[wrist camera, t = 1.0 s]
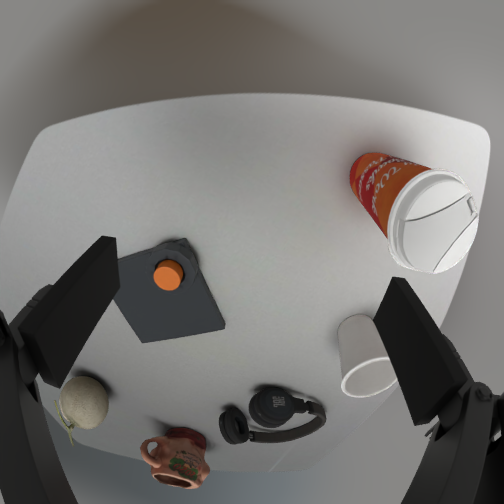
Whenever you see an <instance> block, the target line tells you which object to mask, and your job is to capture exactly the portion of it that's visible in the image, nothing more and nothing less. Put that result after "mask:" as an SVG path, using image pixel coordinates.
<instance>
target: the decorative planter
mask: <svg viewBox="0 0 504 504" xmlns="http://www.w3.org/2000/svg"><path fill="white" fill-rule="evenodd" d="M150 442H156V443H157V444H158V445H157V447H156V448H154V449H153V450H152V451H151V453H150V454H149V453H148V449H147V446H148V444H149V443H150ZM140 450H141V454H142V457H143V458H144V460H145V461H146V462H147V463H148V464H150V466H151V474H152V476H153V477H154V478H155V479H156V480H158V481H159V482H160V483H163V484H167V485H171V486H178V487H182V488H188V489H193V488H198V487H200V486H201V484H202V483H203V480H204V479H205V478H206V476H207V475H208V474H209V472H210V467H209V466H208V464H207V463H206V462H205V460H204V455H205V451H206V441H205V438H204V437H203V436H202V435H200V434H199V433H197V432H195V431H193V430H191V429H187V428H174V429H170V430H168V431H167V432H166V433H165V436H162V437H155V438H151V439H148V440H145V441H144V442H143V443H142V445H141V447H140Z"/></svg>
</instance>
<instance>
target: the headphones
mask: <svg viewBox="0 0 504 504" xmlns="http://www.w3.org/2000/svg"><path fill="white" fill-rule="evenodd" d="M306 410H307V411H309V412H308V413H309V414H313V415H316V416H318V417H316V418H315V419H314V420H313V421H311V422H309V423H308V424H305V425H303V426H301V427H298V428H295V429H292V430H289V431H284V432H276V433H266V432H256V431H249V428H248V424H247V421H246V419H245V417H244V415H243V414H242V412H241V411H240V410H238V409H230V410H228V411H226V412H223V413H222V414H221V415H220V418H219V427H220V431H221V434H222V436H223V437H224V439H225V440H226V441H227V442H228V443H230V444H240V443H244V442H246V441H247V440H248V439H250V441H251V442H258V443H280V442H287V441H292V440H295V439H298V438H301V437H304V436H306V435H309V434H311V433H313V432H315V431H316V430H318V429H319V428H321V427H322V426H323V425H324V424H325V422H326V415H325V411H324V409H323V408H322V406H320V405H319V404H317V403H315V402H311V401H307V402H306V403H304V400H303V399H299V398H295V397H292V396H291V395H290V394H288V393H287V392H286V391H284V390H282V389H280V388H276V387H268V388H265V389H263V390H261V391H260V392H259V393H257V394H255V395H254V396H253V397H252V398H251V400H250V403H249V413H250V415H251V417H252V419H253V420H254V421H255V422H256V423H258V424H259V425H261V426H263V427H267V428H276V427H279V426H281V425H283V424H284V423H286V422H287V421H288V420H289V419H290V418H291V417H292V416H293V414H294V413H304V412H306Z"/></svg>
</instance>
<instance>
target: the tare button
mask: <svg viewBox="0 0 504 504" xmlns="http://www.w3.org/2000/svg"><path fill="white" fill-rule="evenodd" d="M182 277H183V269H182V267H181V266H180V264H179V263H177V262H176V261H173V260H164V261H162V262H160V264H159V265H158V267H157V269H156V270H155V272H154V281H155V283H156V284H157V285H158V286H159V287H160V288H162V289H164V290H174V289H176V288H177V287H178V286H179V284H180V282H181V280H182Z"/></svg>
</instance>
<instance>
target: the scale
mask: <svg viewBox="0 0 504 504" xmlns="http://www.w3.org/2000/svg"><path fill="white" fill-rule="evenodd" d="M164 260H173V261H176V262H177V263H179V264H180V266H181V267H182V269H183V277H182V280H181V282H180V284H179V286H178V287H177V288H176V289H174V290H164V289H162V288H160V287H159V286H158V285H157V284H156V283H155V281H154V272H155V270H156V269H157V267H158V265H159V264H160V262H162V261H164ZM118 268H119V278H120V289H119V290H118V292H117V293H116V295H115V296H114V298H113V300H114V301H115V303H116V304H117V306H118V308H119V309H120V311H121V312H122V314H123V315H124V317H125V318H126V320H127V321H128V323H129V324H130V326H131V327H132V329H133V330H134V332H135V333H136V335H137V336H138V338H139V339H140V341H141V342H142V343H148V342H154V341H161V340H167V339H173V338H179V337H185V336H191V335H197V334H202V333H207V332H213V331H218V330H223V329H225V322H224V320H223V318H222V316H221V314H220V312H219V310H218V308H217V305H216V303H215V301H214V299H213V297H212V295H211V293H210V291H209V289H208V286H207V284H206V282H205V280H204V278H203V276H202V273H201V271H200V269H199V267H198V263H197V261H196V259H195V257H194V255H193V253H192V251H191V249H190V247H189V244H188V242H187V240H186V238H184V239H181V240H177V241H174V242H168V243H164V244H161V245H158V246H157V247H155V248H152V249H148V250H145V251H142V252H139V253H136V254H133V255H130V256H127V257H123V258H120V259H118Z"/></svg>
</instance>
